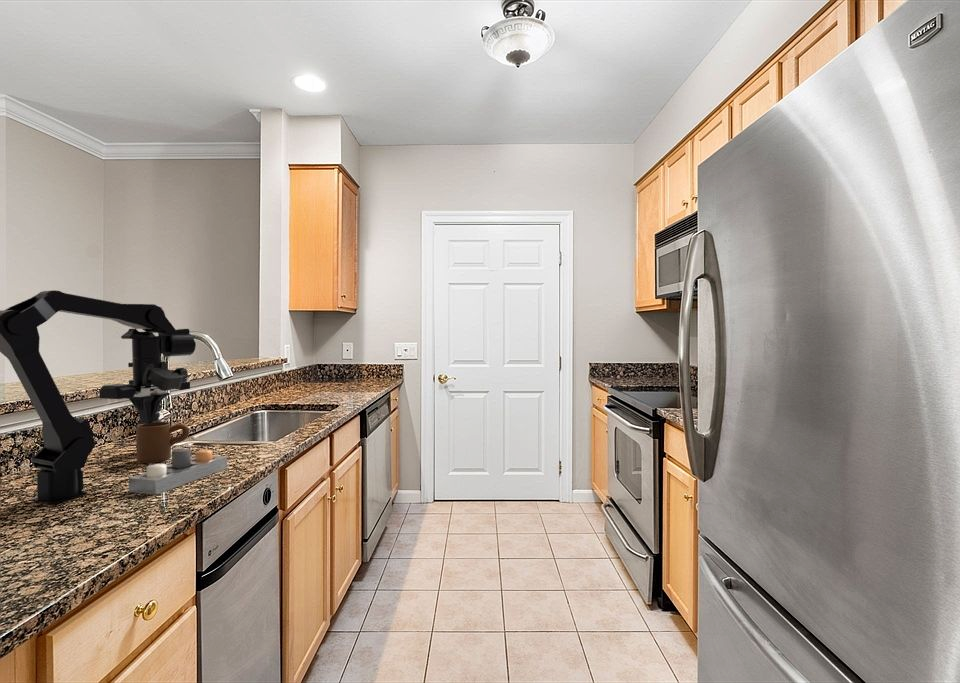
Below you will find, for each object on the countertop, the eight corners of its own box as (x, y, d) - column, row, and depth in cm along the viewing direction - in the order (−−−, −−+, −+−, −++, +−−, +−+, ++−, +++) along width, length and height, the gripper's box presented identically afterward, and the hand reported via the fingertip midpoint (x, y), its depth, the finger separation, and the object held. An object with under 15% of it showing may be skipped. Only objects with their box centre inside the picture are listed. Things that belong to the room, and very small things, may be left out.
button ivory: (156, 489, 105) (156, 468, 104) (142, 488, 105) (142, 467, 105) (170, 484, 108) (170, 464, 108) (157, 483, 109) (157, 463, 109)
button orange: (204, 472, 117) (204, 453, 117) (192, 471, 118) (191, 452, 118) (216, 468, 121) (215, 450, 120) (203, 467, 121) (203, 449, 121)
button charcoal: (181, 472, 111) (181, 453, 111) (168, 471, 112) (168, 452, 112) (194, 468, 114) (194, 449, 114) (181, 467, 115) (181, 448, 115)
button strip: (155, 494, 102) (155, 480, 102) (129, 492, 104) (128, 478, 104) (227, 468, 122) (227, 456, 122) (203, 466, 124) (203, 454, 123)
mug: (192, 453, 137) (191, 419, 136) (187, 460, 130) (186, 424, 129) (140, 457, 132) (140, 422, 132) (133, 465, 125) (132, 428, 125)
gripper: (135, 361, 104) (137, 434, 105) (207, 356, 122) (208, 418, 123) (96, 360, 108) (98, 431, 108) (172, 355, 126) (173, 416, 126)
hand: (148, 424), depth 116 cm, fingers closed
